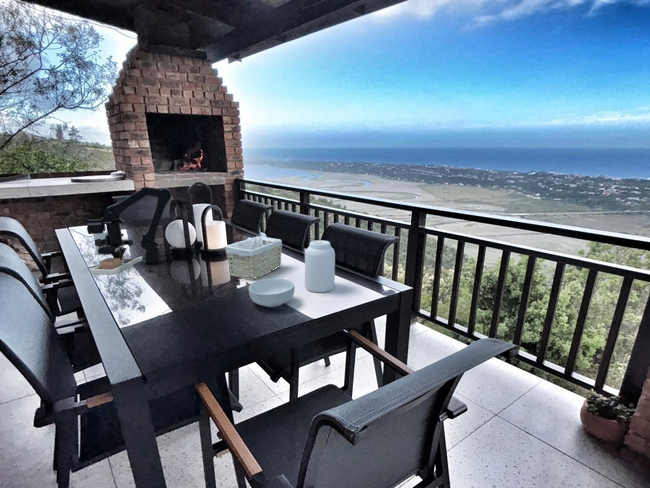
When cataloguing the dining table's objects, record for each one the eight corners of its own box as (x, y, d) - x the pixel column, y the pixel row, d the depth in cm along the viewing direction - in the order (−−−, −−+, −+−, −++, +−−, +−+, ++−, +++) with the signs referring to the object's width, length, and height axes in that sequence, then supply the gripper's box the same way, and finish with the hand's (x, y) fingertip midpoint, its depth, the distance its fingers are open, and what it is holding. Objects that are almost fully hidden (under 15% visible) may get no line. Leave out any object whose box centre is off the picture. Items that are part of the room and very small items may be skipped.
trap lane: (142, 259, 177) (142, 256, 176) (113, 274, 154) (113, 270, 153) (122, 259, 177) (122, 255, 177) (90, 273, 154) (89, 269, 154)
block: (121, 268, 164) (120, 258, 162) (113, 271, 158) (111, 261, 157) (109, 267, 164) (108, 257, 163) (101, 271, 158) (99, 261, 157)
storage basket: (252, 282, 147) (251, 250, 143) (225, 276, 154) (223, 245, 151) (284, 267, 167) (283, 239, 164) (258, 263, 175) (257, 235, 171)
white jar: (308, 294, 134) (308, 246, 129) (302, 283, 146) (302, 239, 141) (338, 291, 137) (339, 244, 133) (329, 281, 149) (330, 237, 144)
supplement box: (117, 251, 192) (114, 229, 189) (108, 254, 185) (105, 232, 182) (105, 250, 193) (102, 229, 190) (96, 254, 186) (92, 232, 183)
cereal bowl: (274, 291, 137) (273, 274, 135) (303, 301, 127) (303, 284, 125) (240, 304, 124) (239, 286, 123) (270, 317, 114) (269, 298, 112)
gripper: (110, 228, 171) (114, 257, 175) (84, 236, 153) (89, 268, 157) (132, 228, 171) (135, 258, 174) (107, 236, 153) (112, 269, 156)
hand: (118, 263), depth 165 cm, fingers closed
